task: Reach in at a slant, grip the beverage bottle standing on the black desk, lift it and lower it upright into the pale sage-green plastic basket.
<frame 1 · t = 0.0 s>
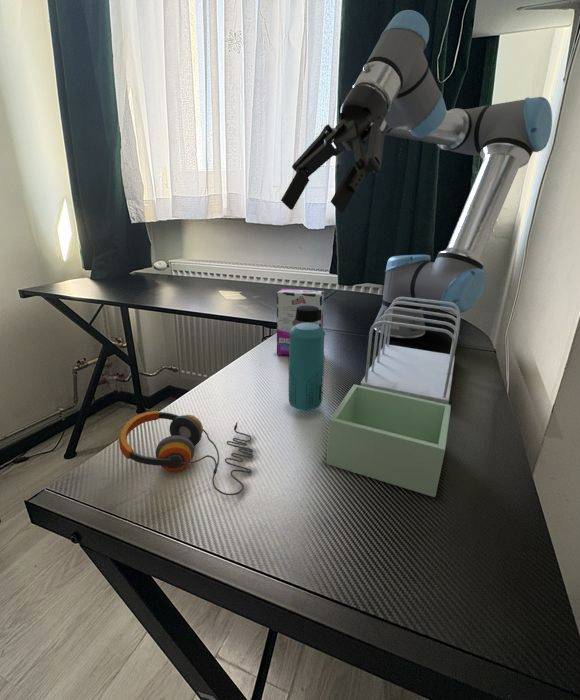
hand: (309, 206, 65), 36 cm above the table, tool tilted 35°, fingers open, 13 cm apart
file sorter: (410, 376, 87), on the table
candy bar box: (299, 354, 97), on the table
headphones: (190, 458, 58), on the table
beverage bottle: (304, 409, 72), on the table
basket: (386, 455, 59), on the table
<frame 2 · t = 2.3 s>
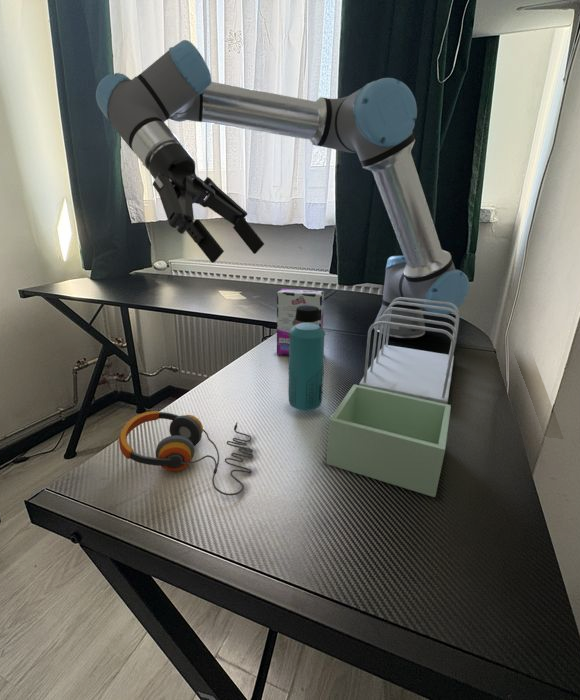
hand: (240, 252, 66), 28 cm above the table, tool tilted 45°, fingers open, 13 cm apart
file sorter: (409, 376, 86), on the table, touching arm
everything else where it was.
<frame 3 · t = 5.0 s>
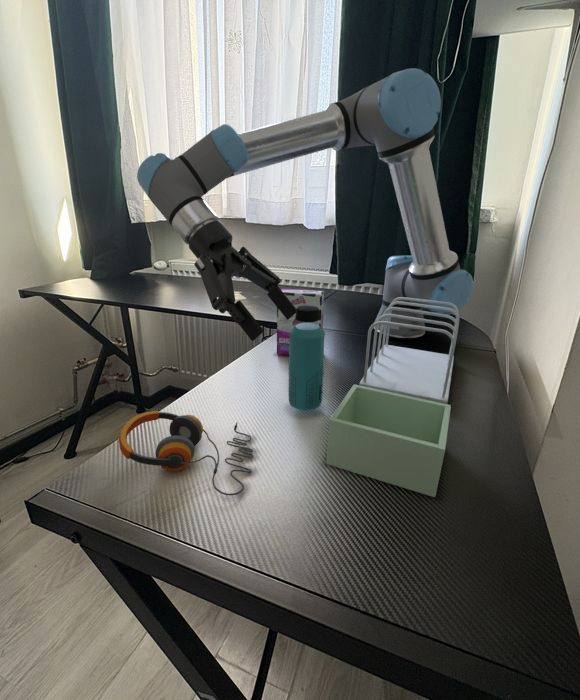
hand: (277, 325, 68), 16 cm above the table, tool tilted 45°, fingers open, 13 cm apart
file sorter: (409, 376, 86), on the table
everything else where it was.
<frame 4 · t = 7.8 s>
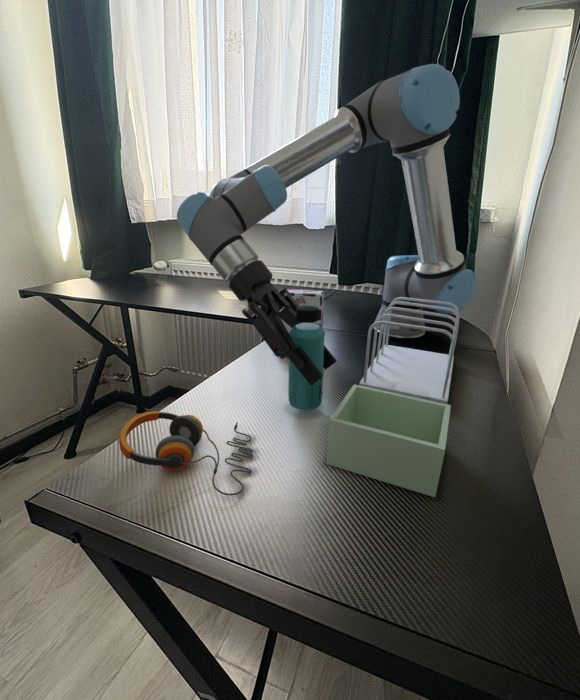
hand: (324, 372, 67), 8 cm above the table, tool tilted 45°, fingers closed on beverage bottle, 6 cm apart
beverage bottle: (304, 409, 72), on the table, touching gripper
everything else where it was.
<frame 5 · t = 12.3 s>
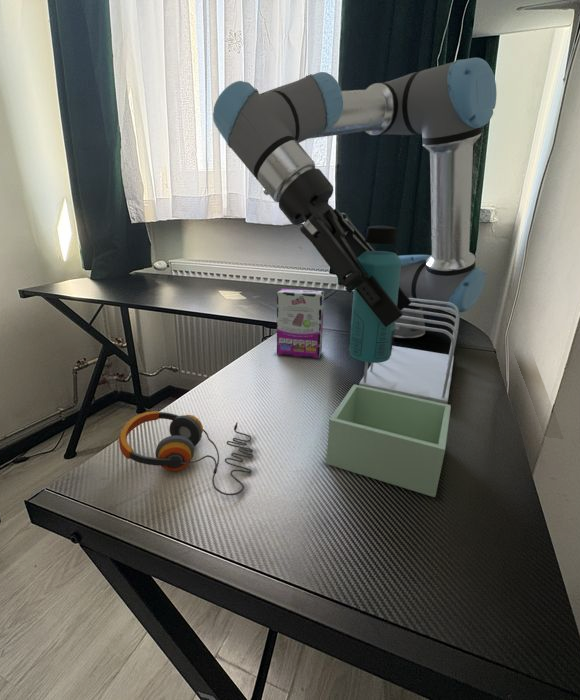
hand: (399, 313, 53), 22 cm above the table, tool tilted 45°, fingers closed on beverage bottle, 6 cm apart
beverage bottle: (368, 365, 57), point 14 cm above the table, touching gripper
everything else where it was.
when the fingers open (9 cm above the table, at t = 16.9 s): beverage bottle stays where it is, resting on basket.
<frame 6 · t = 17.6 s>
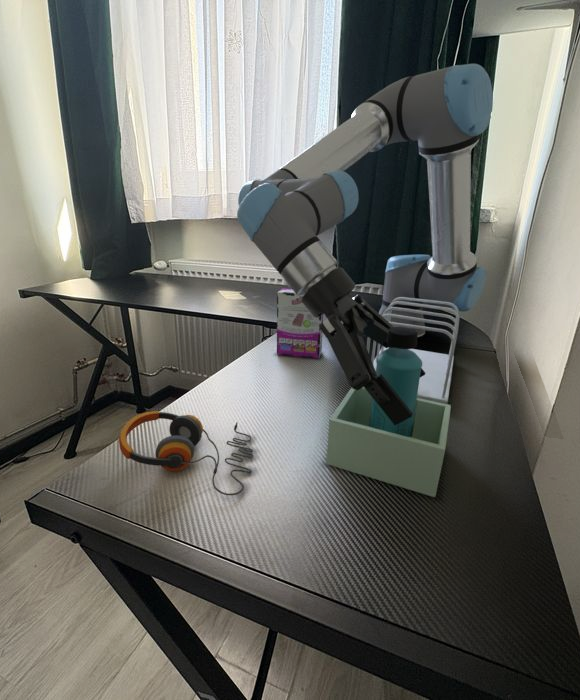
hand: (411, 396, 54), 11 cm above the table, tool tilted 45°, fingers open, 13 cm apart
beverage bottle: (386, 451, 59), point 1 cm above the table, touching basket
everything else where it was.
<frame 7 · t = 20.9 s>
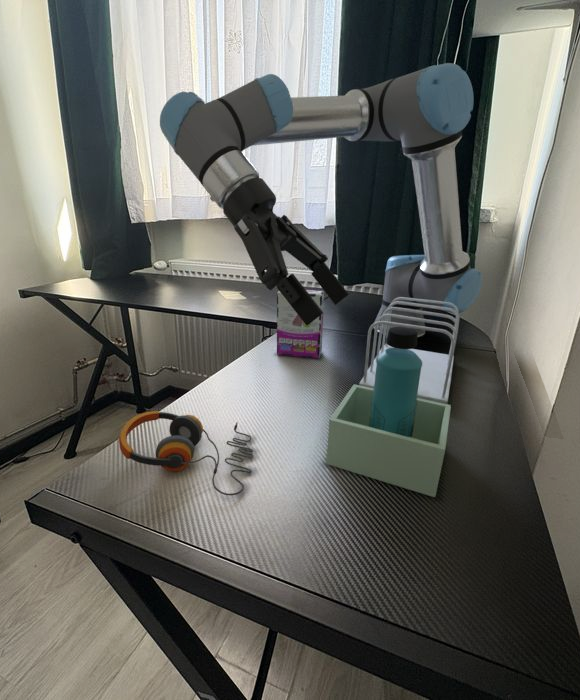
hand: (330, 308, 55), 22 cm above the table, tool tilted 45°, fingers open, 13 cm apart
nothing on the table moved.
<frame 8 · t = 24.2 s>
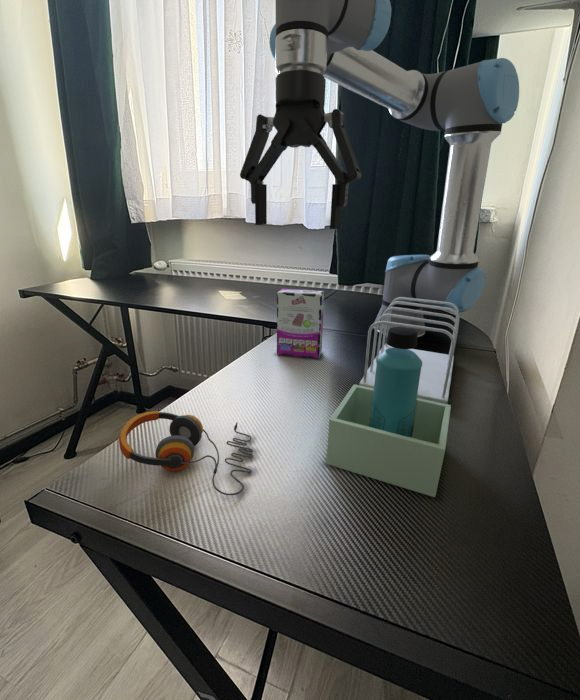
hand: (296, 226, 63), 33 cm above the table, tool pointing down, fingers open, 13 cm apart
nothing on the table moved.
at the end: beverage bottle inside the target area in the basket (0.1 cm from its centre), point 0.6 cm above the basket's base; beverage bottle tilted 0°; the gripper is holding nothing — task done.
